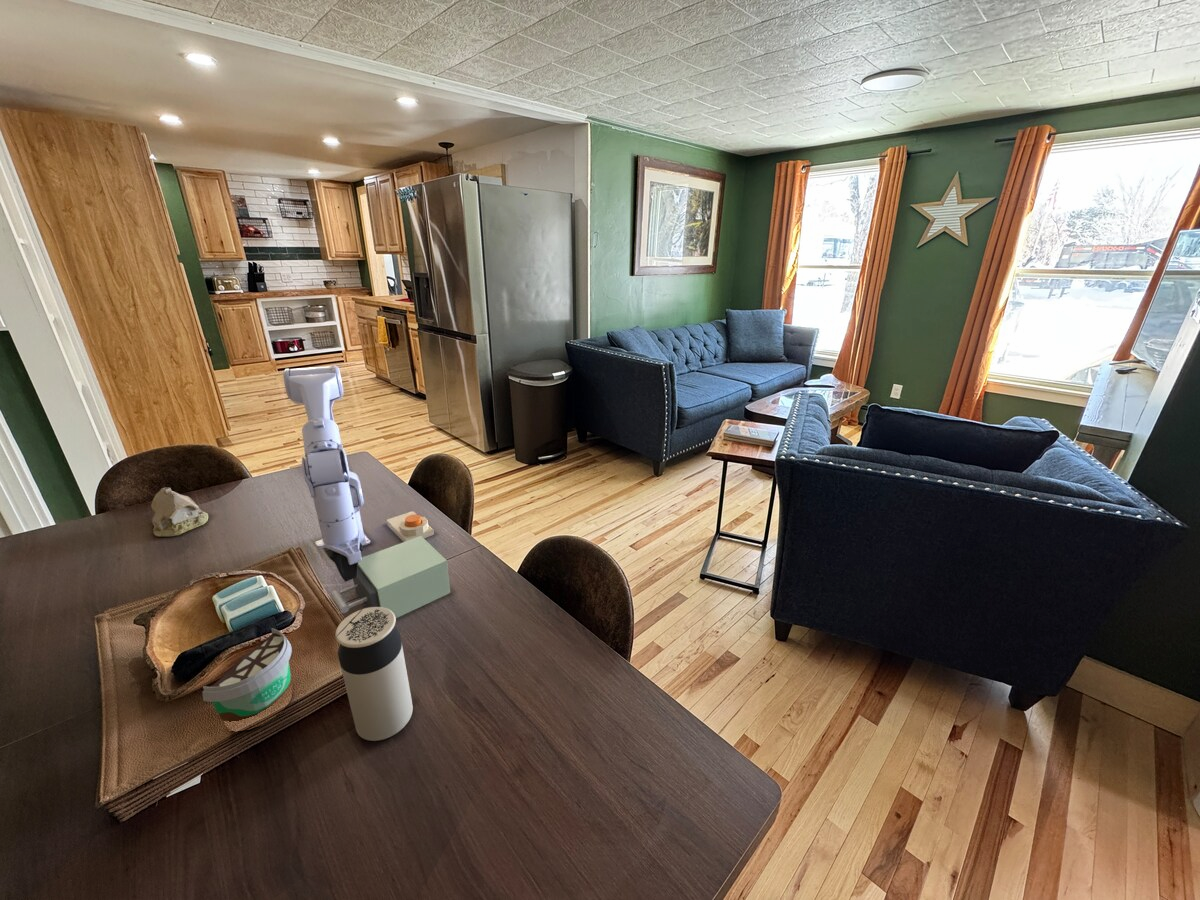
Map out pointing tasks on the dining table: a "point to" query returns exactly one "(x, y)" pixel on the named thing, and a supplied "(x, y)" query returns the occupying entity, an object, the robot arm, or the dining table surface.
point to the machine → (407, 575)
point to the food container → (253, 680)
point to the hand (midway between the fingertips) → (349, 577)
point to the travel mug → (374, 672)
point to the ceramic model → (175, 513)
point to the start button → (413, 520)
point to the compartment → (362, 590)
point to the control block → (409, 533)
